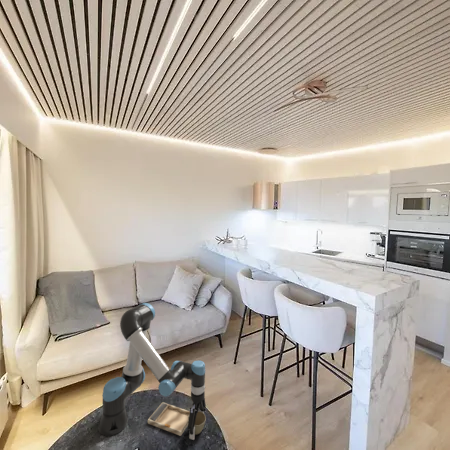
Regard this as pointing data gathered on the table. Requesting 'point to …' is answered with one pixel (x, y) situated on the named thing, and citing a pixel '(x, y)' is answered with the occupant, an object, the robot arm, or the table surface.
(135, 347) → the robot arm
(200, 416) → the flower pot
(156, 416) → the wooden tray
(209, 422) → the table surface
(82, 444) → the table surface
